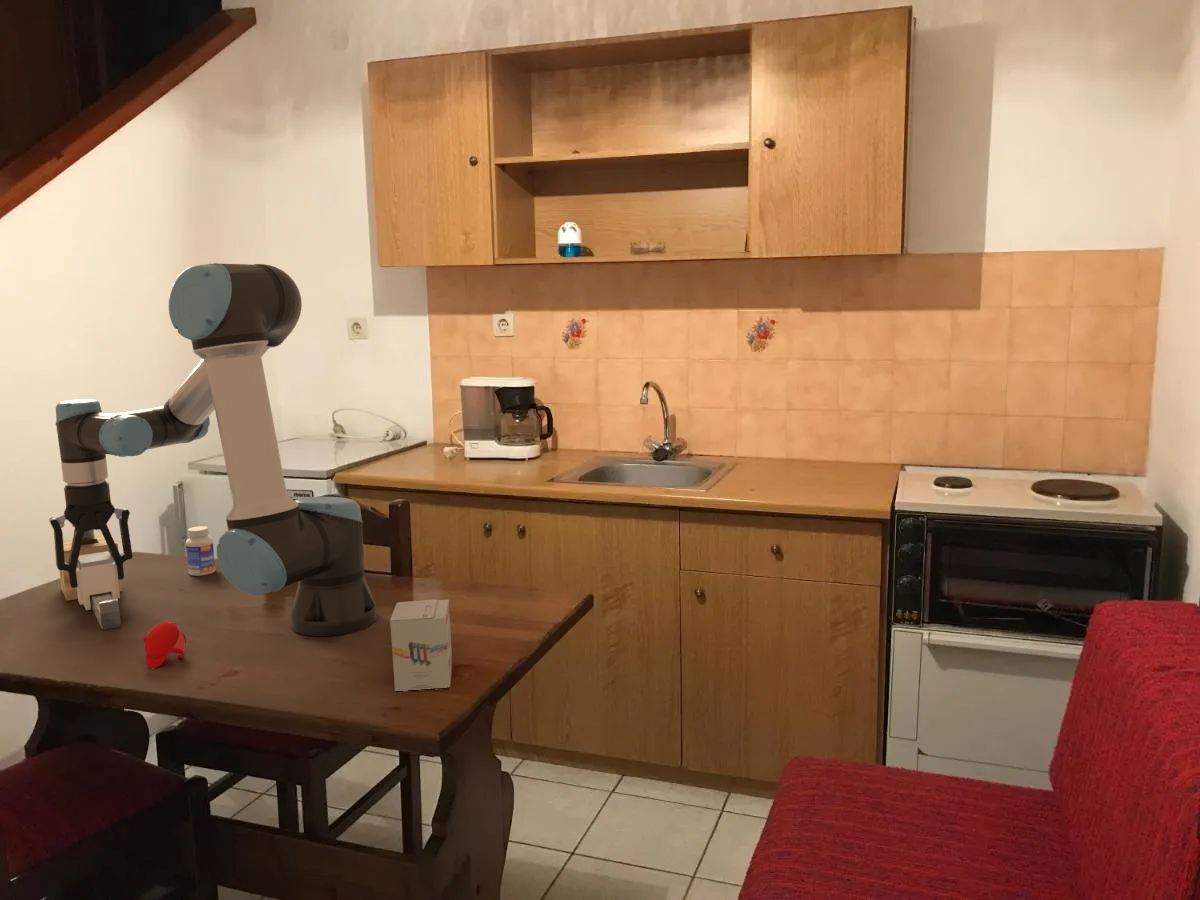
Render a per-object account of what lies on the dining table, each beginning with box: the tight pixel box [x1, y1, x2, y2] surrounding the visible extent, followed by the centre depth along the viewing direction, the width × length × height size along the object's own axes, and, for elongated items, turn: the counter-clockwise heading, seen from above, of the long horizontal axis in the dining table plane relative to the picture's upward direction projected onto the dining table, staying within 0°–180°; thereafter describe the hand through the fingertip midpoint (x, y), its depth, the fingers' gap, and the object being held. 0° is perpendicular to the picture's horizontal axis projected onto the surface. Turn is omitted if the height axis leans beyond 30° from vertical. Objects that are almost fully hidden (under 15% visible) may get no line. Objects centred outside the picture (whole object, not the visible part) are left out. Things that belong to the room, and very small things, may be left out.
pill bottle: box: [185, 525, 216, 577], centre depth 206 cm, size 5×5×10 cm
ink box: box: [389, 598, 453, 692], centre depth 150 cm, size 9×9×12 cm
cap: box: [142, 621, 187, 670], centre depth 159 cm, size 8×6×6 cm
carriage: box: [78, 551, 118, 611], centre depth 185 cm, size 6×6×9 cm
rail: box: [89, 592, 122, 631], centre depth 183 cm, size 22×3×5 cm, turn 34°
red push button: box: [71, 524, 95, 545], centre depth 193 cm, size 4×4×5 cm
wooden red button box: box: [58, 534, 123, 601], centre depth 195 cm, size 9×10×10 cm
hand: (99, 599), depth 186 cm, fingers closed on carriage, 5 cm apart
